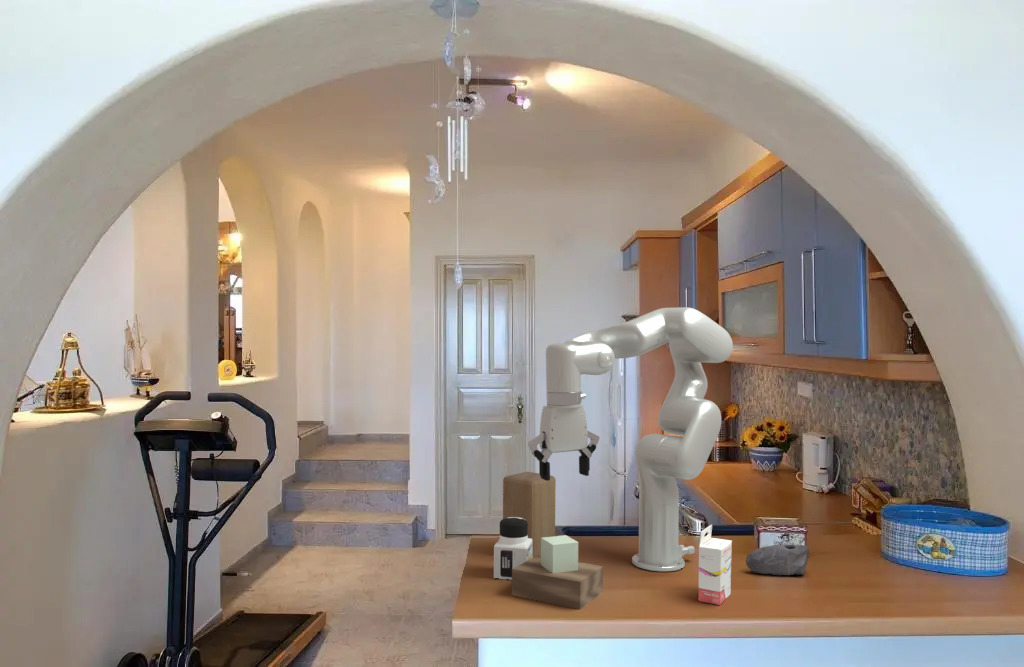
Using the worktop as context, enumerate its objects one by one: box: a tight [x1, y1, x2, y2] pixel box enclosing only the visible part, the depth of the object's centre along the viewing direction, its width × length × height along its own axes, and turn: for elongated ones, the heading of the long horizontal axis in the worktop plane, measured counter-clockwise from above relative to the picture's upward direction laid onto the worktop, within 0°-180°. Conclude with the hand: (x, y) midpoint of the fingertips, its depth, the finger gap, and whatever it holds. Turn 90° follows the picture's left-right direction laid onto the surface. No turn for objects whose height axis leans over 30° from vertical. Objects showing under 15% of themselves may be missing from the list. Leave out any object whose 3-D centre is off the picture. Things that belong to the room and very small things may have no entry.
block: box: [502, 471, 556, 558], centre depth 192 cm, size 10×10×20 cm
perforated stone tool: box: [745, 544, 810, 577], centre depth 178 cm, size 15×5×7 cm, turn 85°
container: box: [493, 517, 533, 581], centre depth 176 cm, size 8×8×13 cm
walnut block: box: [511, 555, 604, 610], centre depth 164 cm, size 12×16×6 cm
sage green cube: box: [541, 534, 579, 573], centre depth 164 cm, size 6×6×6 cm
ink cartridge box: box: [697, 524, 733, 606], centre depth 162 cm, size 9×5×15 cm, turn 149°
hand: (564, 477), depth 167 cm, fingers open, 9 cm apart
